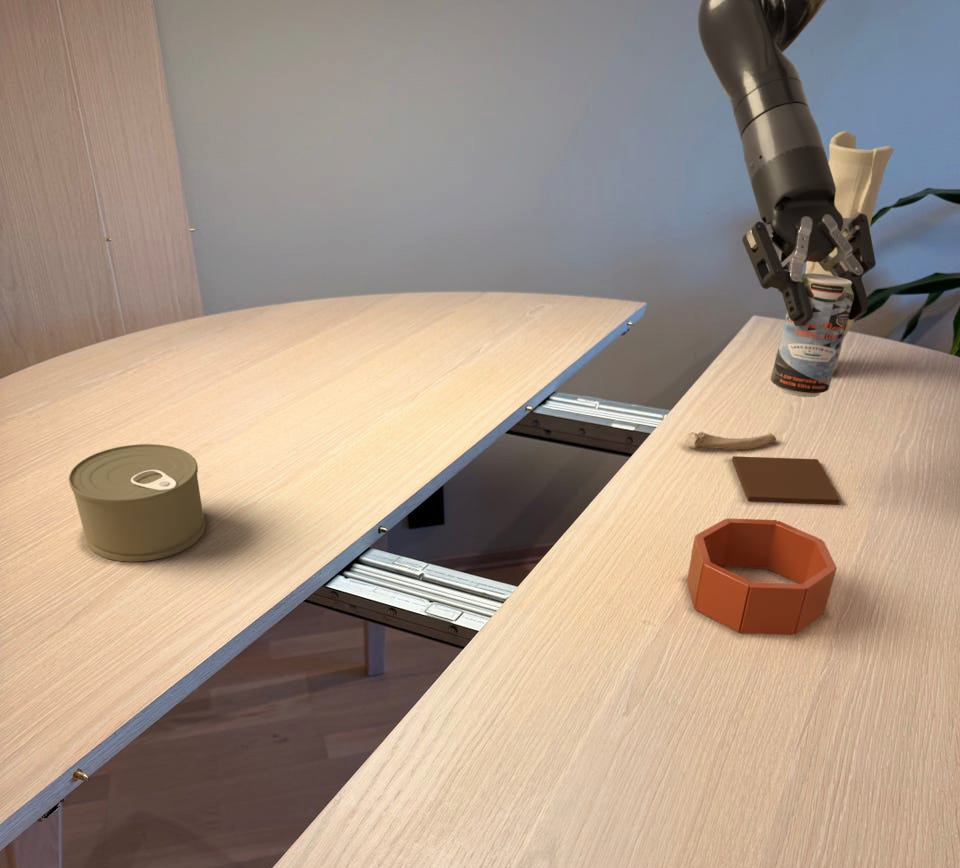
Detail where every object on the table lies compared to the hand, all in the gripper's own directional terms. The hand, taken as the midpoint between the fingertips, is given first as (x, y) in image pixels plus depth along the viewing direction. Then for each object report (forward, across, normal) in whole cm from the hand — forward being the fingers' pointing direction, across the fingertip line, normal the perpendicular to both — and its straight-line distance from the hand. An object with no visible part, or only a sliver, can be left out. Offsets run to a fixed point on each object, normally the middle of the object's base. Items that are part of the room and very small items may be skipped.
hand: (831, 318), depth 99 cm
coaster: (+12, 0, +15) cm, 19 cm away
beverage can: (+5, 0, +7) cm, 9 cm away
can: (+4, -68, +24) cm, 73 cm away
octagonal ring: (+26, -16, +1) cm, 31 cm away
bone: (+5, 0, +22) cm, 23 cm away
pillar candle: (-8, +26, +35) cm, 44 cm away
